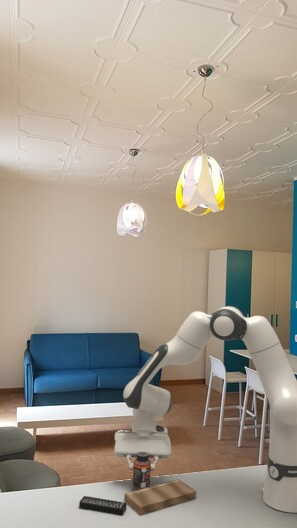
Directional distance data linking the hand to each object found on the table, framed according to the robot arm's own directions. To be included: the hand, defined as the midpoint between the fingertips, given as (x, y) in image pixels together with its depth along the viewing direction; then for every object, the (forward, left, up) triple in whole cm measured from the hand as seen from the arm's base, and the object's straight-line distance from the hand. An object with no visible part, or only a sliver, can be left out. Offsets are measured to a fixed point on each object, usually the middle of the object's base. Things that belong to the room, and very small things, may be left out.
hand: (142, 469), depth 155 cm
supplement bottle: (0, -1, -6) cm, 6 cm away
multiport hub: (+17, +4, -8) cm, 19 cm away
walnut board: (-3, +8, -7) cm, 11 cm away
